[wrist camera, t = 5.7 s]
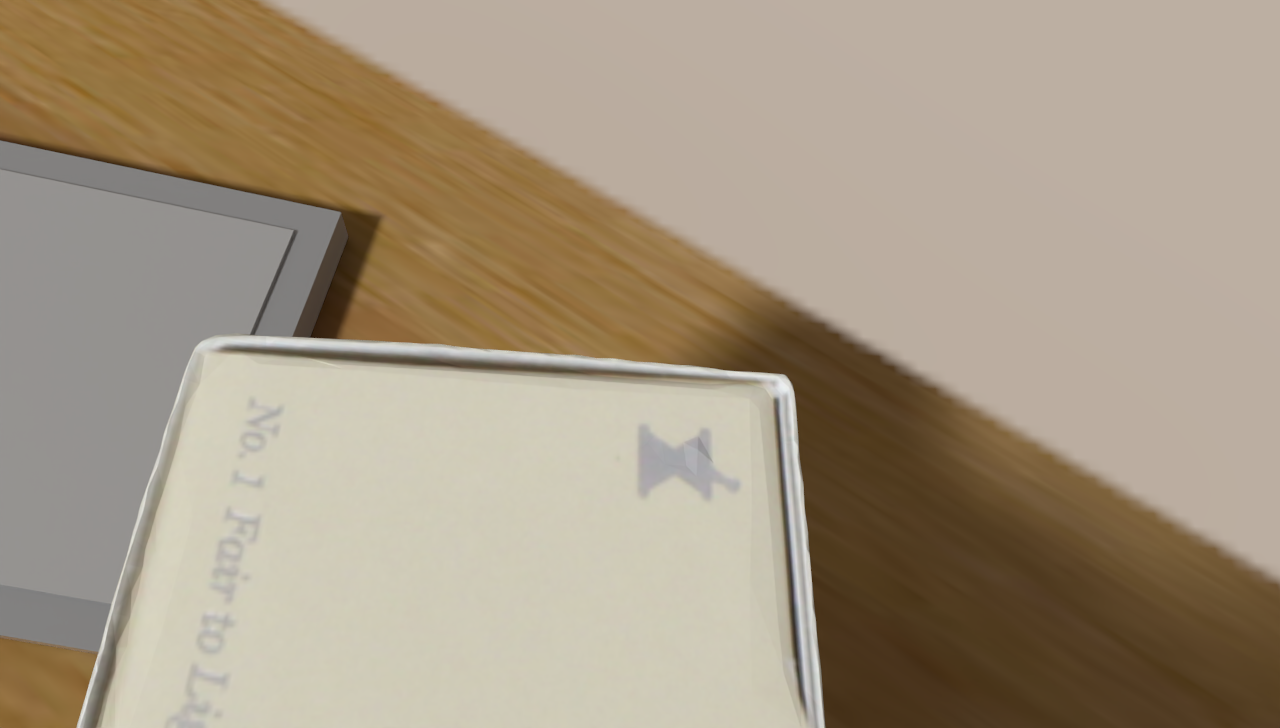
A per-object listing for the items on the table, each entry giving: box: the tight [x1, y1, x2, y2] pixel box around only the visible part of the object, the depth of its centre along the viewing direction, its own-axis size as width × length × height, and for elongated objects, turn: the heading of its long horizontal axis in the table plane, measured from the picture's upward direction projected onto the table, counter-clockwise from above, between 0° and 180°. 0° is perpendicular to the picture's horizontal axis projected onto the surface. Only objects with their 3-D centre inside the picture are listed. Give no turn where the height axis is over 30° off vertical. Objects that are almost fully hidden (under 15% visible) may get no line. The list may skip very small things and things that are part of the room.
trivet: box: [0, 141, 348, 654], centre depth 17 cm, size 10×10×1 cm
